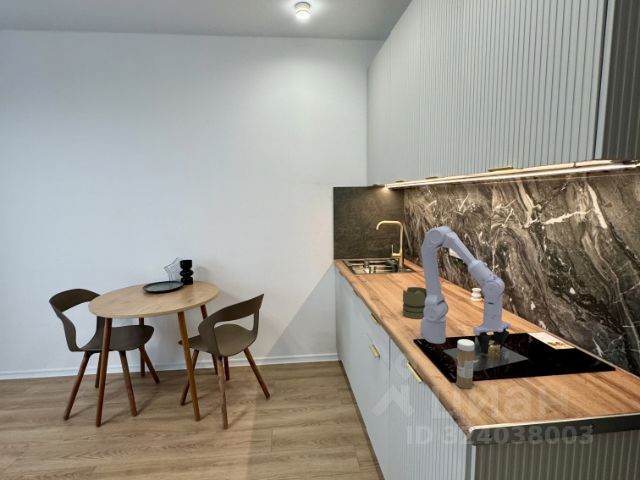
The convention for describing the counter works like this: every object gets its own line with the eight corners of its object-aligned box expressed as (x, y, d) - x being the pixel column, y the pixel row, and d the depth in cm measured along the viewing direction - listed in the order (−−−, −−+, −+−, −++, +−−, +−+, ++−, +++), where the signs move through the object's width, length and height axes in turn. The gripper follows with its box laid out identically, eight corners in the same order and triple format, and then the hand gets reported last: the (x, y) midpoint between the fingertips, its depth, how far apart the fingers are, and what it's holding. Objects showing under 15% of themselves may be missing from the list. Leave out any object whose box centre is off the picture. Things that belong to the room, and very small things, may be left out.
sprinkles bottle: (453, 381, 110) (454, 339, 108) (468, 380, 110) (469, 338, 108) (460, 389, 105) (462, 345, 104) (475, 388, 106) (477, 344, 104)
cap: (475, 349, 129) (475, 339, 129) (487, 346, 131) (487, 337, 131) (495, 359, 121) (495, 349, 121) (507, 357, 123) (508, 347, 123)
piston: (399, 291, 166) (408, 285, 176) (399, 316, 168) (407, 309, 177) (423, 294, 160) (431, 288, 170) (423, 321, 162) (431, 313, 171)
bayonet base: (442, 353, 129) (442, 341, 129) (490, 343, 137) (491, 332, 136) (475, 373, 114) (476, 360, 114) (528, 361, 122) (528, 349, 121)
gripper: (484, 320, 118) (483, 359, 120) (518, 314, 123) (516, 352, 125) (469, 313, 125) (467, 351, 127) (501, 308, 130) (500, 344, 131)
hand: (491, 351), depth 126 cm, fingers closed on cap, 5 cm apart
